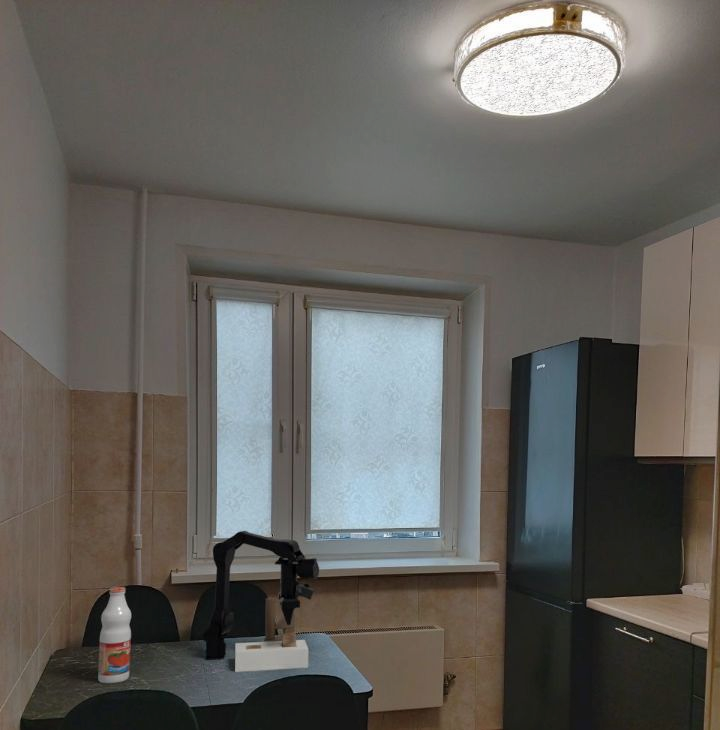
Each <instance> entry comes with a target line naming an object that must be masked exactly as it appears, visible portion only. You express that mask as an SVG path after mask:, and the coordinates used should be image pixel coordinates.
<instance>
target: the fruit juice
mask: <svg viewBox="0 0 720 730" xmlns="http://www.w3.org/2000/svg"><path fill="white" fill-rule="evenodd" d="M126 590H127V589H126V587H125V586H114V587H110V588H109V595H110V596H109V599H108V602H107V605H106V607H105V608H104V610H103V611H102V614H101V616H100V619H101V620H100V621H101V625H102V627H101V631H100V632H99V633H100V635H99V649H98V650H99V651H98V653H99V654H98V668H97V680H98V682H99V683H101V684H118V683H121V682H125V681H126V680H128V679H129V677H130V670H131V669H130V663H131V643H132V642H131V641H132V640H131V639H132V630H131V627H130V623H131V619H132V612H131V609H130V608H129V606H128V603H127V601H126V600H127V599H126V595H125V594H126Z"/></svg>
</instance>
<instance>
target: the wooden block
mask: <svg viewBox="0 0 720 730" xmlns="http://www.w3.org/2000/svg"><path fill="white" fill-rule="evenodd" d="M295 609H296V608H295ZM295 609H294V610H293V615H292V619H291V624H290V625H287V623H286V620H285V617H284V615H283V616H281V618H280V619H279V620H278V621H277V623H276V597H275V598H274V597H267V598H265V623H264V625H265V628H264V629H265V631H264V632H265V633H264V637H265V638H264V639H263V642H270V641H282V636H281V637H280V636H276V630H282V633H294V632H295Z"/></svg>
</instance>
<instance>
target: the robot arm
mask: <svg viewBox="0 0 720 730" xmlns="http://www.w3.org/2000/svg"><path fill="white" fill-rule="evenodd" d="M243 545H248V546H250V547H251V546H252V547H255V548H259V549H263V550H266V551H270V552H271V553H273V554H274V555H276V556H278V559H277V560H276V561H274V565H277V566H278V565H280V580H279V582H280V583H279V584H280V590H279V592H278V598H277V599H278V600H280V602H279V606H280V609H281V611H282V615H283V616H284V617H285V620H286V623H287V625H290V624H291V619H292V615H293V610H294V609H298V608H301V601H300V599H299V596H300V597H303V598H305V599H306V600H311V601H312V598H313V595H314V592H315V590H314V589H313V588H312V587H310V583H308V582H304V583H303V584H299V583H300V582H299V581H298V577H299V578H300V579H307V580H309V579H310V580H317V579H318V578H319V575H320V566H319V564H318V562H317V561H318V560H317V558H316V557H312V558H306V556H305V555H304V553H303V552H302V550H301V549H300V545H299V543H298V541H297V540H294V539H283V538H282V539H275V538H271V537H267V536H265V535H264V536H263V535H260V534H258V533H257V534H256V533H252V532H249V531H247V530H242V531H241V530H240V531H238V532H236V533H235V534H234V535H232V536H231V537H229V538H227V539H226V540H224V541H220V542H217V543H215V545H214V546H213V548H212V556H213V557H212V558H213V562H214V564H215V566H216V576H215V595H214V609H213V612H212V614H211V617H210V621H209V626H208V629H206V630H205V631H204V632H203V634H202V635H201V636H202V637H201V638H202V640H203V642H205V657H204V660H217V659H216V658H219V659H220V658H223V659H225V656H226V651H227V644H226V643H227V641H225V637H227V636H228V635H229V634H228V633H229V632H230V631H231V630H232V628H233V626H234V625H235V622H234V617H235V613H234V612H231V611H230V609H229V608H230V607H229V601H230V600H229V598H230V578H231V577H230V575H231V566H232V565H233V561H234V559H235V555H236V551H237V550H238V549H239V548H241V546H243ZM294 611H295V610H294ZM220 660H221V659H220Z"/></svg>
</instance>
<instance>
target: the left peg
mask: <svg viewBox="0 0 720 730" xmlns="http://www.w3.org/2000/svg"><path fill="white" fill-rule="evenodd" d="M247 649H260V645H252V646H247Z"/></svg>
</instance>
